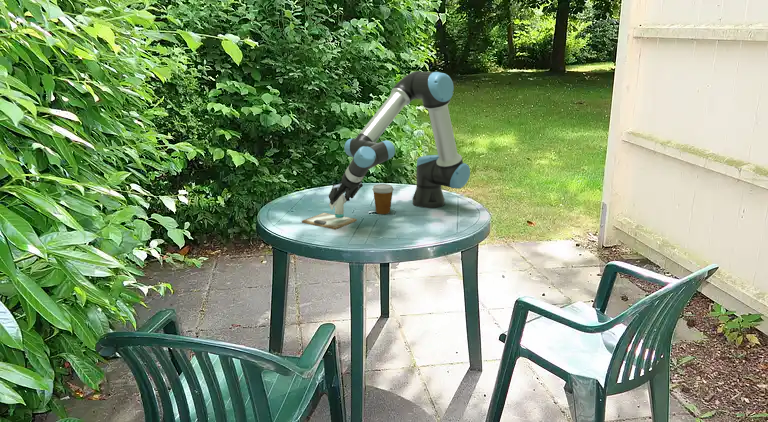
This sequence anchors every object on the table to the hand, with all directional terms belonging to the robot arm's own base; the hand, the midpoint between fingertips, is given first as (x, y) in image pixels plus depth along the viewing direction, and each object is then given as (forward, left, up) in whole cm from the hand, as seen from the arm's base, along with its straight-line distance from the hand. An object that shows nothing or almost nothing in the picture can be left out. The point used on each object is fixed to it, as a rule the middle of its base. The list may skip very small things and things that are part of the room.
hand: (335, 206), depth 266 cm
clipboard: (+2, +2, -6) cm, 7 cm away
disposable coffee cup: (-10, -23, -7) cm, 26 cm away
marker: (-3, +2, -4) cm, 5 cm away
